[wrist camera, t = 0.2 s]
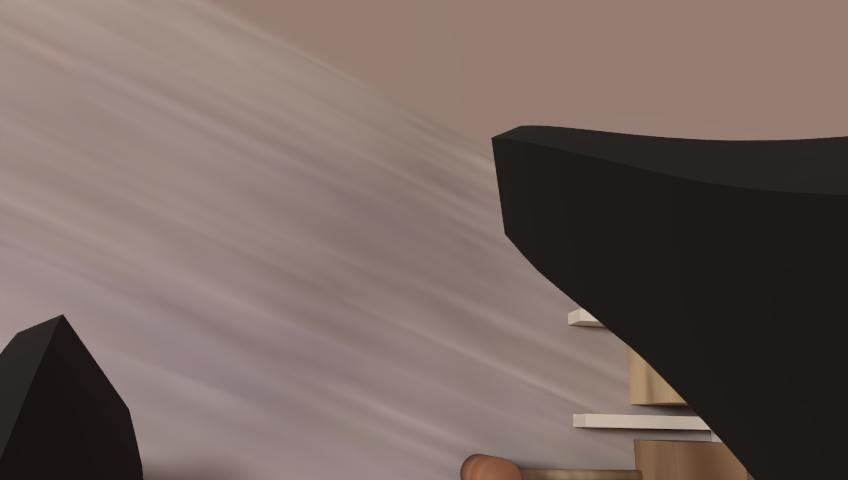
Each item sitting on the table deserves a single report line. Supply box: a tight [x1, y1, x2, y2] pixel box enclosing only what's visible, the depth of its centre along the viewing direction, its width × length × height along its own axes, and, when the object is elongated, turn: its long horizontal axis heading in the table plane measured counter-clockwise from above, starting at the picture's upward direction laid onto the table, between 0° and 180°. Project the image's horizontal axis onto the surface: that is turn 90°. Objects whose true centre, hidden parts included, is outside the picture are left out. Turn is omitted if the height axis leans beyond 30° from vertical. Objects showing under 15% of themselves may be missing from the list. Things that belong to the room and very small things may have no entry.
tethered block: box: [460, 440, 747, 480], centre depth 38 cm, size 16×4×5 cm, turn 89°
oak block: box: [626, 344, 689, 406], centre depth 41 cm, size 4×4×5 cm
